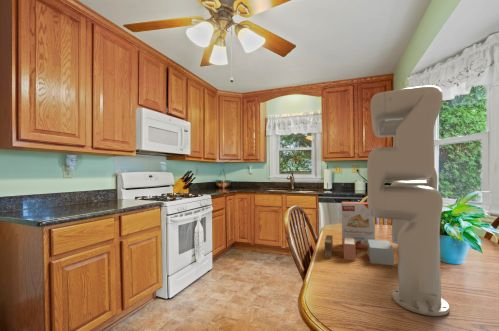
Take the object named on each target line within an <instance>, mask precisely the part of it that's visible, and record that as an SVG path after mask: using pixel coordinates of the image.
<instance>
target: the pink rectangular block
mask: <svg viewBox="0 0 499 331" xmlns="http://www.w3.org/2000/svg"><path fill="white" fill-rule="evenodd" d="M356 249H357V248H355V238H346V237H344V247H343V260H346V261H354V262H355V261H357V259H356V258H357V257H356V253H357V252H356Z"/></svg>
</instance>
